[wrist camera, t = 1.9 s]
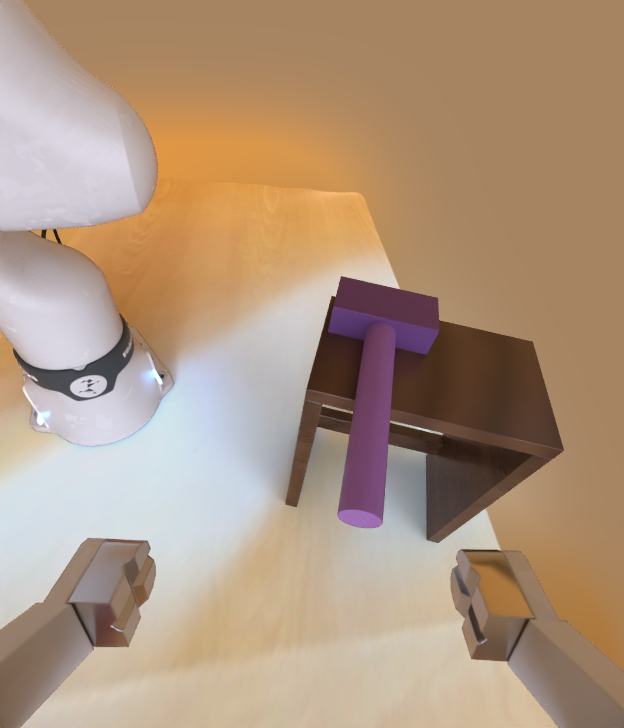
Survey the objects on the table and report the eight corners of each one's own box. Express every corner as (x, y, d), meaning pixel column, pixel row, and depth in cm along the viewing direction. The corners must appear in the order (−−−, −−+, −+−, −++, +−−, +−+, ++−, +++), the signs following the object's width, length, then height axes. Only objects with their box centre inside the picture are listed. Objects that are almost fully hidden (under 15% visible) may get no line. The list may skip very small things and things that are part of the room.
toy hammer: (428, 545, 22) (448, 529, 20) (282, 508, 22) (286, 488, 20) (426, 322, 35) (438, 297, 33) (335, 301, 36) (341, 275, 33)
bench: (285, 504, 47) (306, 388, 28) (305, 426, 55) (331, 295, 36) (438, 543, 46) (564, 450, 28) (436, 458, 54) (533, 341, 35)
